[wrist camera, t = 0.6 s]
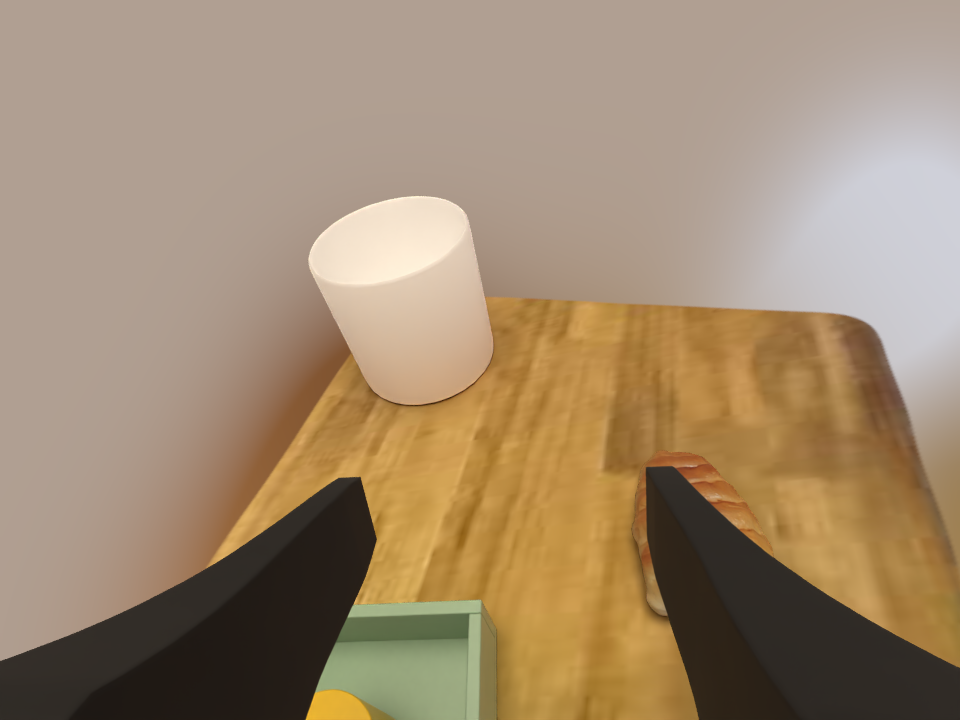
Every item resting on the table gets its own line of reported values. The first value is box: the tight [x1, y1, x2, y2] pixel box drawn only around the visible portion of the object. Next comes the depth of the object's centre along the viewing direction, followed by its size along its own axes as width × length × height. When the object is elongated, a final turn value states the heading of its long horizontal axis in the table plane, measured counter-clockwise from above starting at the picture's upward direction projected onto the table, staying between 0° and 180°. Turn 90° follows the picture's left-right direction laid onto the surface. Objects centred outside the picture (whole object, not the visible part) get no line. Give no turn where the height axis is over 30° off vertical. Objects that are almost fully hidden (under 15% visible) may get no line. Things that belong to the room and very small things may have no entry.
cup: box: [308, 196, 493, 405], centre depth 38 cm, size 12×12×12 cm
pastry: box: [632, 450, 774, 616], centre depth 26 cm, size 9×7×4 cm
